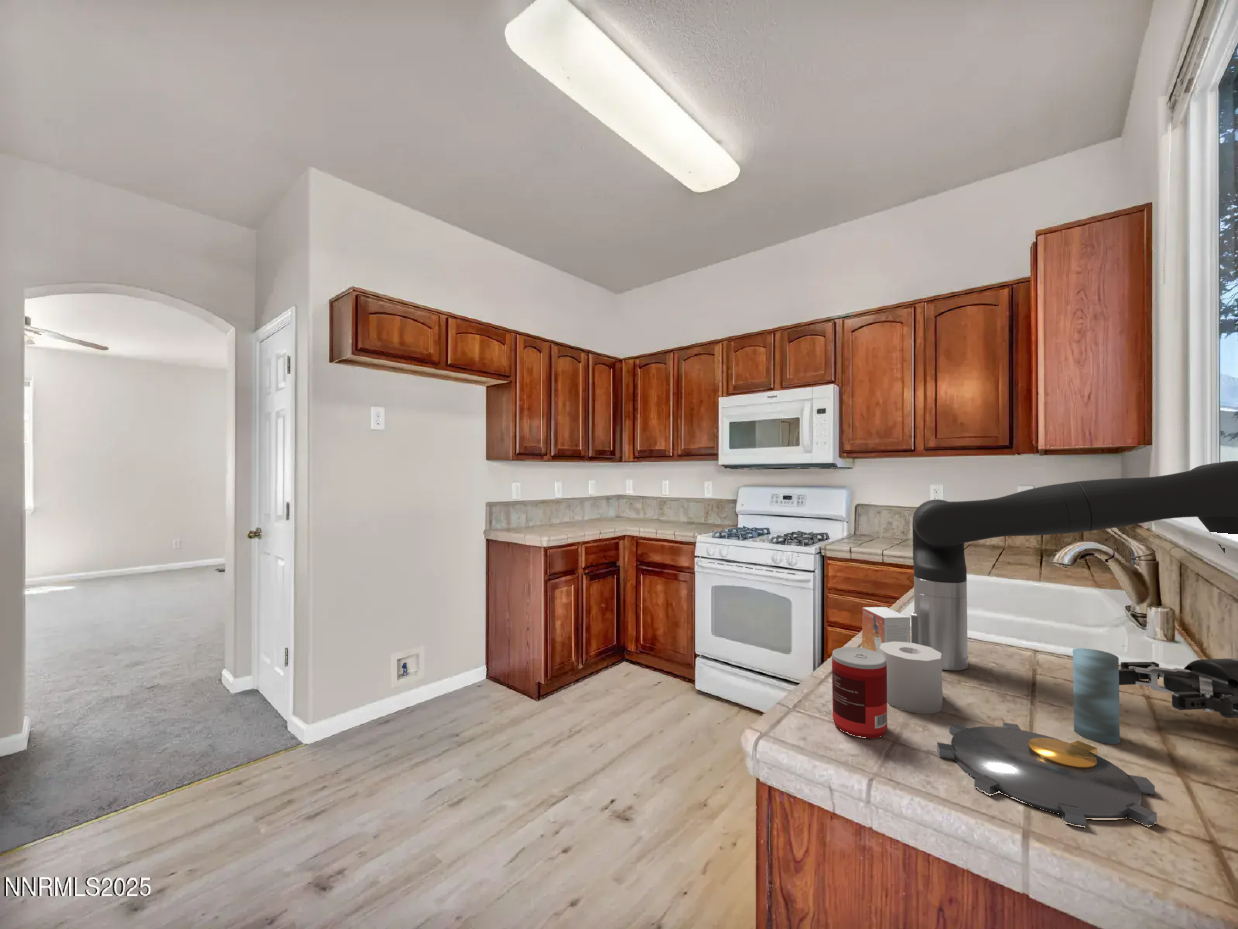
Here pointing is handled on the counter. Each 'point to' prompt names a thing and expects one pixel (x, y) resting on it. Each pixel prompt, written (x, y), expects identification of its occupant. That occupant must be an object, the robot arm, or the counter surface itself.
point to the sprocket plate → (1048, 773)
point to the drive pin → (1096, 695)
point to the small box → (883, 627)
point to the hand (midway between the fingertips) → (1141, 688)
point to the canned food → (859, 691)
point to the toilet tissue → (913, 677)
